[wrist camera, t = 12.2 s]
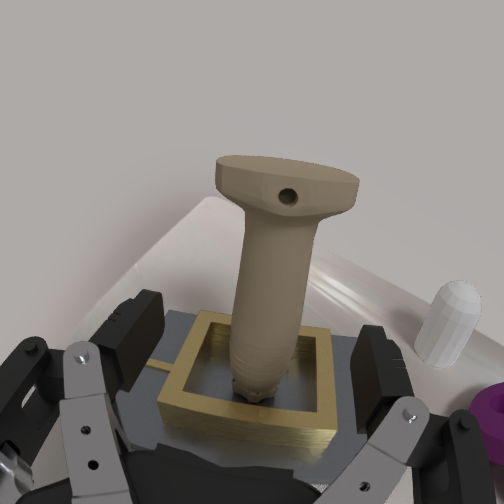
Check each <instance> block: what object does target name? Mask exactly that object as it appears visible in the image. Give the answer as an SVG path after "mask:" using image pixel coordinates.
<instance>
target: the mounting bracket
mask: <svg viewBox="0 0 504 504" xmlns="http://www.w3.org/2000/svg"><path fill="white" fill-rule="evenodd" d="M469 412H471V413H472V414H473V415H474V416H475V417H476V418H477V420H478V422H479V425H480V428H481V432H482V436H483V439H484V443H485V447H486V451H487V455H488V459H489V460H490V461H492V462H495V463H497V464H500V465H502V466H504V382H503V383H499V384H495V385H492V386H490V387H488V388H486V389H484V390H482V391H481V392H480V393H478V394H477V395H476V396H475V398H474V399H473V401H472V403H471V407H470V410H469Z"/></svg>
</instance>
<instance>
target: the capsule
mask: <svg viewBox="0 0 504 504" xmlns="http://www.w3.org/2000/svg"><path fill="white" fill-rule="evenodd" d="M481 307H482V306H481V297H480V295H479V293H478V292H477V290H476V289H475V287H474V286H473V285H472V284H470V283H468V282H466V281H463V280H458V281H451V282H449V283H447V284H446V285H444V286H443V287H441V288H440V290H439V291H438V293H437V294H436V296H435V298H434V301H433V303H432V305H431V308H430V310H429V312H428V314H427V317H426V319H425V321H424V323H423V325H422V327H421V330H420V332H419V334H418V336H417V338H416V340H415V342H414V349H415V351H416V353H417V355H418V356H419V357H420V358H421V359H422V360H423V361H424V362H425V363H427V364H429V365H431V366H433V367H437V368H448V367H451V366H452V365H453V364H454V363H455V362H456V360H457V358H458V357H459V355H460V353H461V352H462V350H463V348H464V346H465V345H466V343H467V341H468V339H469V338H470V336H471V334H472V332H473V330H474V328H475V326H476V325H477V323H478V321H479V317H480V314H481Z"/></svg>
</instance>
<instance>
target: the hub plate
mask: <svg viewBox="0 0 504 504" xmlns="http://www.w3.org/2000/svg"><path fill="white" fill-rule="evenodd" d="M231 319H232V315H226V314H221V313H215V312H209V311H204V310H200V312H199V314H198V315H193V314H188V313H183V312H178V311H173V310H169V311H168V313H167V314H166V316H165V329H164V333H163V336H162V338H161V339H160V341H159V343H158V344H157V346H156V348H155V349H154V351H153V353H152V354H151V356H150V358H149V359H148V361H147V363H146V365H145V366H144V368H143V370H142V371H141V373H140V375H139V377H138V378H137V380H136V382H135V383H134V385H133V387H132V389H131V390H130V392H129V393H127V392H125V391H122V390H120V391H119V393H118V395H117V396H116V398H117V402H118V406H119V410H120V414H121V418H122V421H123V425H124V429H125V432H126V435H127V438H128V441H129V443H130V446H131V448H133V449H135V450H155V448H156V446H157V443H161V444H164V445H168V446H171V447H174V448H178V449H181V450H185V451H189V452H191V453H193V454H195V455H197V456H199V457H201V458H203V459H205V460H207V461H209V462H212V463H214V464H216V465H218V466H221V467H248V466H265V467H273V468H282V469H293V470H294V473H293V478H297V479H299V480H302V481H304V482H306V483H308V484H331V483H332V482H333V480H334V479H335V478H336V477H337V476H338V475H339V474H340V473H341V472H342V470H343V469H344V468H345V467H346V466H347V465H348V464H349V462H350V461H351V460H352V459H353V458H354V456H355V455H356V454H357V453H358V451H359V450H360V449H361V448H362V446H363V445H364V444H365V443H366V441H367V434H357V429H356V417H355V407H354V397H353V388H352V380H351V372H350V359H351V355H352V352H353V349H354V347H355V344H356V342H357V339H358V338H356V337H346V336H336V335H331V333H330V329H326V328H317V327H309V326H301V325H300V329H299V334H298V339H297V342H296V346H295V350H294V353H293V356H292V359H291V361H290V364H289V366H288V369H287V371H286V373H285V375H284V376H283V378H282V380H281V381H280V383H279V385H280V387H279V389H278V391H277V393H276V394H275V396H274V397H272V398H270V397H269V398H264V399H262V400H260V401H259V402H258V403H252V402H249V401H248V399H247V398H245V397H244V396H242V395H240V394H236V393H235V392H234V390H233V386H232V379H233V378H234V377H233V374H232V370H231V363H230V346H229V344H230V329H231Z"/></svg>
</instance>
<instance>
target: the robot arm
mask: <svg viewBox="0 0 504 504" xmlns="http://www.w3.org/2000/svg"><path fill="white" fill-rule="evenodd" d="M164 329H165V318H164V308H163V298H162V294H161V293H160V292H155V291H150V290H146V289H143V290H141V291H140V293H139V294H138V295H137V296H136V297H135V298H134V299H131V298H130V299H128V300H126V301H125V302H123V303H121V304H120V305H119V306H118V307H117V308H116V309H115V310H114V311H113V314H111V315H110V316H109V317H108V320H106V321H105V322H104V323H103V324H102V325H101V327H100V328H99V329H98V330H97V331H96V332H95V334H94V335H93V336H92V337H91V338H90V340H89V341H88V342H87V341H81V342H76V343H74V344H72V345H70V346H69V347H68V348H67V349H66V350H56V349H49V348H48V346H47V344H46V341H45V340H44V339H43V338H41V337H36V336H35V337H29V338H26V339H24V340H23V341H22V342H21V343H20V344H19V345H18V346H17V347H16V348H15V349H14V351H13V352H12V353H11V354H10V355H9V356H8V358H7V359H6V360H5V361H4V362H3V364H2V365H1V366H0V504H384V503H385V501H386V500H387V498H388V497H389V496H390V494H391V493H392V491H393V490H394V488H395V487H396V485H397V484H398V482H399V481H400V479H401V477H402V476H403V474H404V472H405V471H406V469H407V466H410V467H412V480H413V498H414V504H497V503H496V496H495V490H494V484H493V479H492V473H491V469H490V464H489V459H488V455H487V451H486V447H485V443H484V439H483V436H482V432H481V428H480V425H479V422H478V420H477V418H476V417H475V416H474V415H473V414H472V413H471V412H469V411H467V410H456V411H455V412H453V413H452V414H451V416H450V417H449V418H447V417H443V416H439V415H435V414H431V413H429V410H428V408H427V406H426V405H425V404H424V403H423V402H422V401H421V400H419V399H417V398H415V396H414V393H413V389H412V386H411V382H410V379H409V376H408V372H407V369H405V367H406V366H405V363H404V361H403V357H402V353H401V350H400V348H399V347H398V346H397V345H396V343H395V342H394V341H393V340H388V339H387V338H386V335H385V331H384V328H383V327H382V326H374V325H363V327H362V329H361V331H360V334H359V336H358V339H357V342H356V344H355V347H354V349H353V352H352V355H351V359H350V372H351V380H352V388H353V397H354V407H355V417H356V429H357V434H367V441H366V443H365V444H364V445H363V446H362V448H361V449H360V450H359V451H358V453H357V454H356V455H355V456H354V458H353V459H352V460H351V461H350V462H349V464H348V465H347V466H346V467H345V468H344V469H343V470H342V472H341V473H340V474H339V475H338V476H337V477H336V478H335V479H334V480H333V482H332V483H331V484H330V485H329V486H328V487H327V488H326V489H325V490H324V491H323V492H322V493H321V492H320V491H319V490H317V489H316V488H314V487H313V486H312V485H310V484H308V483H306V482H304V481H302V480H299V479H297V478H293V473H294V470H293V469H282V468H273V467H265V466H248V467H221V466H218V465H216V464H214V463H212V462H209V461H207V460H205V459H203V458H201V457H199V456H197V455H195V454H193V453H191V452H189V451H185V450H181V449H178V448H174V447H171V446H168V445H164V444H161V443H157V446H156V448H155V450H136V451H132V448H131V446H130V443H129V441H128V438H127V435H126V432H125V429H124V425H123V421H122V418H121V414H120V410H119V406H118V402H117V398H116V394H117V392H118V391H119V390H122V391H125V392H127V393H129V392H130V390H131V389H132V387H133V385H134V383H135V382H136V380H137V378H138V377H139V375H140V373H141V371H142V370H143V368H144V366H145V365H146V363H147V361H148V359H149V358H150V356H151V354H152V353H153V351H154V349H155V348H156V346H157V344H158V343H159V341H160V339H161V338H162V336H163V333H164ZM33 385H34V387H35V388H36V389H35V390H34V392H33V393H32V395H31V396H30V398H29V399H28V400H27V402H26V403H25V405H24V406H23V408H22V401H23V399H24V398H25V396H26V395H27V393H28V392H29V390H30V389H31V388H32V386H33ZM59 415H60V417H61V427H62V436H63V443H64V450H65V456H66V462H67V468H68V473H69V478H66V479H64V480H61V481H58V482H56V483H53V484H50V485H47V486H44V487H42V488H39V489H36V490H33V491H30V489H32V488H33V486H34V481H33V479H32V470H31V468H30V467H31V465H32V464H33V462H34V460H35V458H36V456H37V454H38V452H39V450H40V449H41V447H42V445H43V443H44V441H45V439H46V438H47V436H48V434H49V432H50V431H51V429H52V427H53V425H54V424H55V422H56V420H57V418H58V417H59Z"/></svg>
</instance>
